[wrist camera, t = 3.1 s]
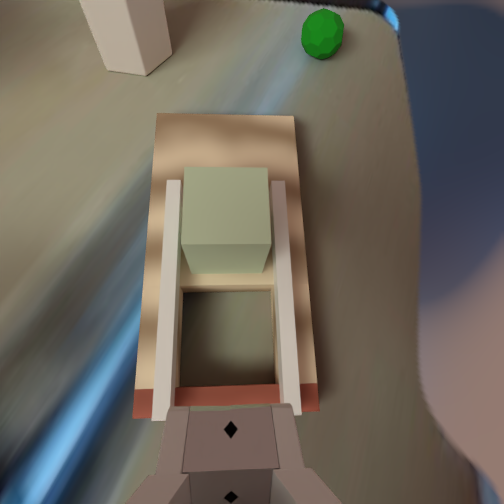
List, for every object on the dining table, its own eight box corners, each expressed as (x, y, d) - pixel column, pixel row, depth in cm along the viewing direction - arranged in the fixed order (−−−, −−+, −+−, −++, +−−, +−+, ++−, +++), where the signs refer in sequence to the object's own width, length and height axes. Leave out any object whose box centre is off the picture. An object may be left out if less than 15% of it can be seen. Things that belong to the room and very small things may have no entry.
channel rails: (296, 411, 26) (301, 415, 24) (157, 417, 25) (151, 421, 23) (281, 191, 32) (284, 180, 30) (170, 191, 32) (166, 179, 30)
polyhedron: (318, 74, 41) (328, 37, 37) (289, 50, 42) (296, 12, 38) (345, 54, 42) (358, 17, 38) (316, 32, 43) (326, -7, 39)
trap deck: (312, 408, 28) (319, 411, 26) (140, 414, 27) (132, 418, 25) (289, 132, 38) (293, 116, 35) (161, 129, 37) (157, 113, 34)
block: (261, 273, 29) (271, 244, 23) (191, 274, 29) (180, 244, 22) (259, 210, 31) (267, 167, 25) (193, 210, 31) (184, 166, 24)
